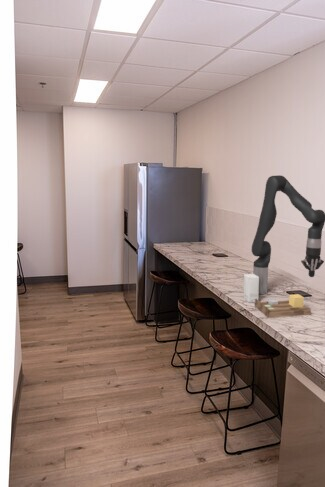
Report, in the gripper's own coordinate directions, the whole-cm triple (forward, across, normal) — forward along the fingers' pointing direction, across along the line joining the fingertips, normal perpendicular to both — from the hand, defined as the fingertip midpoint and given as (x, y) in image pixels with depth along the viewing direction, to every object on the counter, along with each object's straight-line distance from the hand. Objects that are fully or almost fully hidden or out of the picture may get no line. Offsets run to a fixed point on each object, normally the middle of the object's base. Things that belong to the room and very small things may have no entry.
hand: (311, 276), depth 209 cm
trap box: (+19, +16, 0) cm, 25 cm away
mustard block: (+16, +8, 0) cm, 18 cm away
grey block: (+19, +19, -6) cm, 27 cm away
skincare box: (+19, +27, -19) cm, 38 cm away
